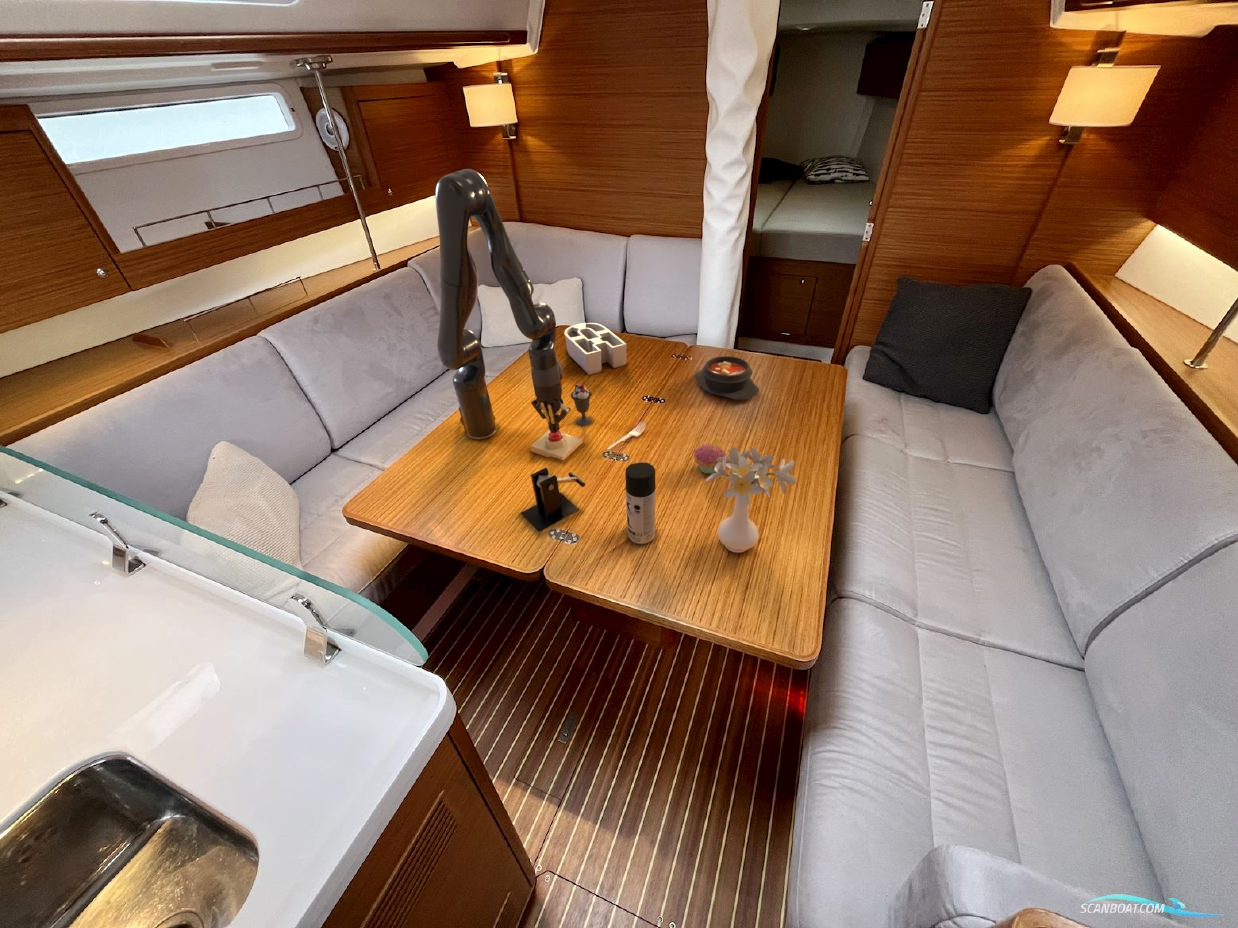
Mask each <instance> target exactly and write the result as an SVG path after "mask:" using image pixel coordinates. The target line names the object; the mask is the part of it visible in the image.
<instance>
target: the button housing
mask: <svg viewBox="0 0 1238 928" xmlns="http://www.w3.org/2000/svg"><path fill="white" fill-rule="evenodd" d="M560 432H561V437H562V439H561V440H559V441H557V442H552V441H550V439H549V433H550V430H549V429H548V430H547V431H546V432H545V433H544V434H543V435H541V436H540V437H538V438H537V440H535V441H534V442H533V443H532V444H530V445H529V446H530V447H529V448H530V451H531V452H532V453H535V454H537V455H540V456H543V457H546V458H550V457H553V458H554V459H558V460H560V461H564V460H565V459H566V458H568V457H569V456H570V454H572V453H573V452H574V451H575V450H576V449H578V447H580V445H581V444H583V438H579V437H576V436H573V435H571V434H567V433H565V432H564V431H560Z"/></svg>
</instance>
